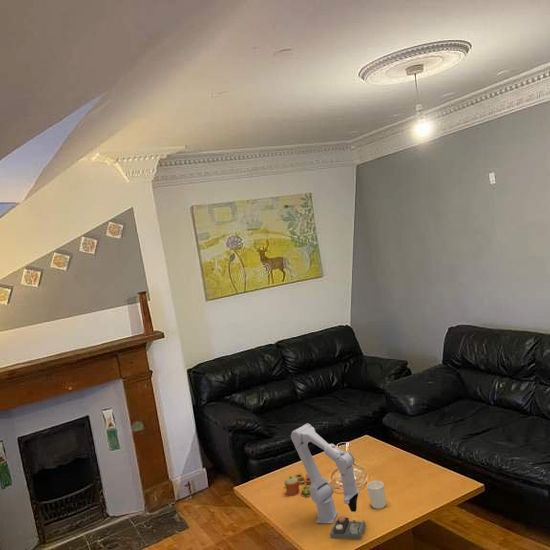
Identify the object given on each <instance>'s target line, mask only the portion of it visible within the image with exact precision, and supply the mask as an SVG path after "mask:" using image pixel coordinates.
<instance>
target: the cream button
mask: <svg viewBox="0 0 550 550" xmlns="http://www.w3.org/2000/svg"><path fill="white" fill-rule="evenodd" d="M336 529H338V530H343V525H341V524H338V525H336Z"/></svg>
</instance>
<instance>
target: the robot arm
mask: <svg viewBox="0 0 550 550" xmlns="http://www.w3.org/2000/svg"><path fill="white" fill-rule="evenodd" d="M290 439H291V440H292V443H293V445H294V448H295V450H296V451H297V453H298V456H299V458H300V461H301V463H302V465H303V467H304V469H305V471H306V474H307V477H309V478H310V481H311V485H310V488H309V491H310V493H311V496H310V498H311V501H312V502H313V503H314V504H315V505H316V506H315V507H316V510H317V517H318V518H317V520H316V522H315V523H316V524H334V523H335V522H334V521H336V517H337V515H338V513H339V512H338V511H336V510H337V509H336V505H335V501H334V498H333V496H332V495H334V488H333V486H332V485H331V483H330V482H329V480H328V479H327V478H324V477H322V474H321V472H320V471H319V468H318V466H317V464H316V462H315V460H314V457H313V455H312V454H311V451H310V449H309V446H308V444H309V443H312V444H313V445H316V446H317V447H318V448H320V449H321V450H323V451H324V454H325V456H326V457H327V458H329V459H330V460H332V461H333V462H334V463H335V465H336V467H337V469H338V472H339V473H340V478H341V483H342V489H343V492H342V493H343V503H344V504H345V505H346V504H347V505H348V508H349V510H350V512H353V513H355V512H357V508H358V507H357V504H358V497H359V494H360V492H361V491H360V489H358V486H357V485H358V484H357V482H356V479H355V477H356V476H355V473H354V466H353V465H354V464H355V457H354V456H353V454H351V452H348V451H343V450H342V449H341V448H339V446H336V445H335V444H334V443H329V442H327V441H326V440H325V439H324V438H323V437H322V436H320V434H318V433H317V432H316V429H315V427H314V426H312V425H311V424H310V423H305V424H303V425H302V426H299V427H298V428H296V429H294V430H292V431H291V434H290Z"/></svg>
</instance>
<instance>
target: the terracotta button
mask: <svg viewBox="0 0 550 550" xmlns="http://www.w3.org/2000/svg"><path fill="white" fill-rule="evenodd" d="M345 518H346V516H344V515H341V516H338V518H337V520H338V519H339V523H346V519H345Z"/></svg>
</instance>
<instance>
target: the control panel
mask: <svg viewBox="0 0 550 550" xmlns="http://www.w3.org/2000/svg"><path fill="white" fill-rule="evenodd" d="M345 519H346V523H339V519H338V518H337V520H334V521H335V522H334V523H333V526H332V528H331V530H330V532H329V536H330V539H341V540H342V539H343V540H344V539H345V540H359V539H361V538H362V537H363V536H364V533H365V531H366V528H365V527H367V525H366V521H365V520H363V519H362V521H356V520H355V519H353V520H352V521H350V519H349V517H345ZM351 523H354V524H358V525H359V531H358V534H351V531H350V526H351ZM338 524H341V525H343V530H338V529H336V525H338ZM363 532H364V533H363ZM362 535H363V536H362ZM362 539H363V538H362ZM362 539H361V540H362Z"/></svg>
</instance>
